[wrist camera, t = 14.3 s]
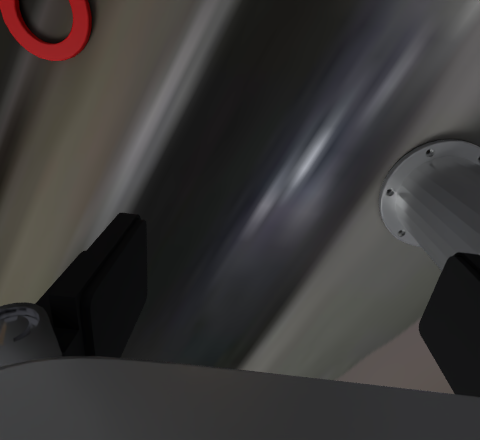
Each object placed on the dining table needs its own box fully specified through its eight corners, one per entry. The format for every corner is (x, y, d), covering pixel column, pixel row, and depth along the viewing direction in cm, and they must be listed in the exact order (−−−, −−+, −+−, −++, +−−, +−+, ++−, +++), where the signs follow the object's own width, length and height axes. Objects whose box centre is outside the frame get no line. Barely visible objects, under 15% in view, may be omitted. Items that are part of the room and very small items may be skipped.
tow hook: (90, 70, 35) (98, -37, 31) (8, 87, 24) (1, -78, 20) (8, 45, 35) (3, -68, 30) (-117, 50, 23) (-153, -129, 19)
